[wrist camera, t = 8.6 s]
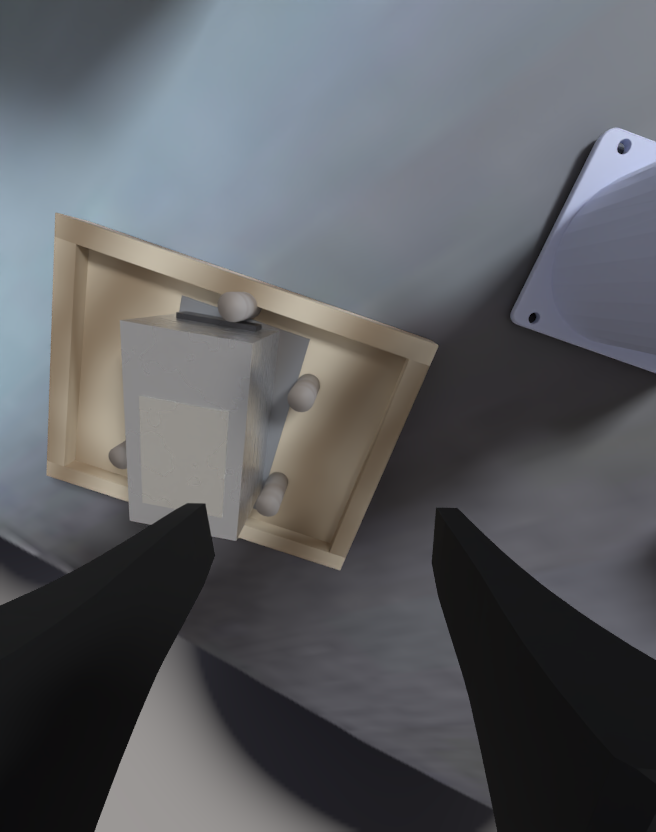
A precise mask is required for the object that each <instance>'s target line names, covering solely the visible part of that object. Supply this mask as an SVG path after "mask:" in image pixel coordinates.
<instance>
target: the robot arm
mask: <svg viewBox="0 0 656 832" xmlns="http://www.w3.org/2000/svg"><path fill="white" fill-rule="evenodd" d="M619 143H622V144H623V145H624V148H625V149H624V152H623V154H619V153H618V151H617V146H618V144H619ZM532 313H535V314H536V320H535V321H534V322H532V323H530V322H529V320H528V318H529V316H530V315H531V314H532ZM510 317H511V320H512V322H513V323H515V324H516V325H519V326H522V327H525V328H528V329H531V330H533V331H536V332H539V333H542V334H545V335H548V336H551V337H553V338H556V339H559V340H562V341H565V342H568V343H571V344H573V345H576V346H579V347H582V348H585V349H588V350H590V351H593V352H596V353H599V354H602V355H605V356H608V357H610V358H613V359H616V360H619V361H622V362H625V363H627V364H630V365H633V366H636V367H639V368H642V369H645V370H647V371H650V372H653V373H656V142H655V141H653V140H650V139H647V138H645V137H642V136H639V135H636V134H634V133H631V132H628V131H626V130H623V129H620V128H612V129H609V130H607V131H606V132H604V133H603V134H602V135H600V136H599V138H598V139H597V140H596V142H595V144H594V146H593V148H592V150H591V152H590V154H589V156H588V158H587V160H586V162H585V164H584V166H583V168H582V170H581V172H580V174H579V176H578V178H577V180H576V182H575V184H574V186H573V188H572V190H571V192H570V194H569V196H568V198H567V200H566V202H565V204H564V206H563V208H562V210H561V212H560V214H559V216H558V218H557V220H556V222H555V224H554V226H553V228H552V230H551V232H550V234H549V236H548V238H547V240H546V242H545V245H544V247H543V249H542V251H541V253H540V255H539V257H538V259H537V261H536V263H535V265H534V267H533V269H532V271H531V273H530V275H529V277H528V279H527V281H526V283H525V285H524V287H523V289H522V291H521V293H520V295H519V297H518V299H517V301H516V303H515V305H514V307H513V309H512V311H511V314H510ZM214 556H215V553H214V548H213V542H212V537H211V531H210V526H209V520H208V515H207V509H206V504H205V503H187V504H185V505H183V506H181V507H179V508H177V509H176V510H174V511H172V512H171V513H169V514H168V515H166V516H164V517H163V518H161V519H160V520H158V521H156V522H155V523H153V524H152V525H150V526H149V527H147V528H145V529H144V530H142V531H141V532H139V533H137V534H136V535H134V536H133V537H131V538H130V539H128V540H126V541H125V542H123V543H121V544H120V545H118V546H116V547H115V548H113V549H111V550H109V551H108V552H106V553H104V554H103V555H101V556H99V557H98V558H96V559H94V560H92V561H91V562H89V563H87V564H85V565H83V566H82V567H80V568H78V569H76V570H74V571H72V572H70V573H69V574H67V575H65V576H63V577H61V578H59V579H57V580H55V581H53V582H51V583H49V584H47V585H45V586H43V587H41V588H38V589H36V590H34V591H32V592H30V593H28V594H25V595H23V596H21V597H18V598H16V599H14V600H12V601H10V602H7V603H5V604H3V605H0V832H94V831H95V828H96V825H97V823H98V820H99V817H100V815H101V812H102V809H103V807H104V804H105V801H106V799H107V796H108V793H109V791H110V788H111V785H112V783H113V780H114V777H115V775H116V772H117V769H118V767H119V764H120V761H121V759H122V757H123V754H124V751H125V749H126V747H127V744H128V742H129V739H130V736H131V734H132V732H133V729H134V726H135V724H136V722H137V719H138V717H139V715H140V712H141V710H142V708H143V705H144V702H145V701H146V698H147V696H148V694H149V691H150V689H151V686H152V684H153V682H154V680H155V677H156V675H157V673H158V671H159V669H160V667H161V665H162V663H163V661H164V659H165V657H166V655H167V653H168V651H169V649H170V648H171V646H172V644H173V642H174V640H175V638H176V637H177V635H178V633H179V631H180V629H181V627H182V625H183V624H184V622H185V620H186V618H187V616H188V614H189V612H190V610H191V609H192V607H193V605H194V603H195V601H196V599H197V597H198V595H199V593H200V591H201V589H202V587H203V585H204V583H205V580H206V578H207V575H208V573H209V570H210V567H211V565H212V562H213V559H214ZM432 566H433V572H434V577H435V583H436V588H437V593H438V597H439V600H440V604H441V607H442V610H443V614H444V617H445V620H446V623H447V627H448V630H449V633H450V636H451V639H452V642H453V646H454V649H455V652H456V655H457V658H458V662H459V665H460V668H461V671H462V674H463V678H464V681H465V685H466V688H467V692H468V696H469V700H470V704H471V709H472V713H473V718H474V722H475V727H476V731H477V736H478V740H479V745H480V749H481V754H482V759H483V764H484V768H485V773H486V778H487V783H488V787H489V792H490V797H491V802H492V807H493V812H494V817H495V822H496V827H497V832H656V660H655V659H653V658H651V657H650V656H648V655H646V654H644V653H643V652H641V651H639V650H638V649H636V648H634V647H633V646H631V645H629V644H628V643H626V642H625V641H623V640H622V639H620V638H618V637H617V636H615V635H614V634H612V633H610V632H609V631H607V630H606V629H604V628H603V627H601V626H599V625H598V624H596V623H595V622H593V621H592V620H590V619H589V618H587V617H586V616H584V615H583V614H582V613H580V612H579V611H577V610H576V609H574V608H573V607H572V606H570V605H569V604H568V603H566V602H565V601H563V600H562V599H561V598H559V597H558V596H556V595H555V594H554V593H552V592H551V591H550V590H548V589H547V588H546V587H544V586H543V585H542V584H541V583H539V582H538V581H537V580H536V579H534V578H533V577H532V576H531V575H529V574H528V573H527V572H526V571H525V570H523V569H522V568H521V567H520V566H519V565H517V564H516V563H515V562H514V561H513V560H512V559H510V558H509V557H508V556H507V555H506V554H505V553H504V552H503V551H501V550H500V549H499V548H498V547H497V546H496V545H495V544H494V543H493V542H492V541H491V540H490V539H489V538H487V537H486V536H485V535H484V534H483V533H482V532H481V531H480V530H479V529H478V528H477V527H476V526H475V525H474V524H473V523H472V522H471V521H470V520H469V519H468V518H467V517H466V516H465V515H464V514H463V513H462V512H461V511H460V510H459V509H458V508H436V517H435V529H434V542H433V554H432Z"/></svg>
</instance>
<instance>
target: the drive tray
mask: <svg viewBox="0 0 656 832" xmlns="http://www.w3.org/2000/svg"><path fill="white" fill-rule="evenodd" d="M183 311H189V312H195V313H201V314H206V315H212V316H218V317H222V318H224V319H225V320H226V321H229V322H238V321H247V322H252V323H258V324H262V328H267V329H273V330H279V340H278V349H277V358H276V367H275V377H274V386H273V395H272V404H271V414H270V423H269V432H268V441H267V451H266V460H265V469H264V478H263V488H262V490H261V492H260V494H259V496H258V498H257V500H256V502H255V504H254V506H253V508H252V510H251V512H250V514H249V516H248V519H247V521H246V523H245V525H244V527H243V529H242V531H241V533H240V535H239V537H238V538H241V539H245V540H248V541H251V542H254V543H257V544H260V545H263V546H266V547H269V548H272V549H275V550H278V551H282V552H285V553H288V554H291V555H294V556H297V557H300V558H303V559H306V560H309V561H312V562H315V563H318V564H322V565H325V566H328V567H331V568H334V569H337V570H340V569H341V567H342V565H343V563H344V560H345V558H346V556H347V553H348V551H349V549H350V547H351V544H352V542H353V540H354V538H355V535H356V533H357V531H358V528H359V526H360V524H361V522H362V519H363V517H364V515H365V513H366V510H367V508H368V506H369V503H370V501H371V499H372V497H373V494H374V492H375V490H376V488H377V485H378V483H379V481H380V478H381V476H382V474H383V472H384V469H385V467H386V465H387V462H388V460H389V458H390V456H391V453H392V451H393V449H394V447H395V444H396V442H397V440H398V437H399V435H400V433H401V431H402V428H403V426H404V424H405V422H406V419H407V417H408V415H409V412H410V410H411V408H412V406H413V403H414V401H415V399H416V396H417V394H418V392H419V390H420V387H421V385H422V383H423V381H424V378H425V376H426V374H427V371H428V369H429V367H430V365H431V362H432V360H433V358H434V356H435V353H436V351H437V349H438V346H439V345H437V344H436V343H434V342H433V341H431V340H429V339H427V338H424V337H421V336H418V335H415V334H412V333H409V332H406V331H403V330H401V329H398V328H395V327H392V326H389V325H386V324H383V323H380V322H378V321H375V320H372V319H369V318H366V317H363V316H360V315H357V314H355V313H352V312H349V311H346V310H343V309H340V308H337V307H334V306H331V305H329V304H326V303H323V302H320V301H317V300H314V299H311V298H308V297H306V296H303V295H300V294H297V293H294V292H291V291H288V290H285V289H283V288H280V287H277V286H274V285H271V284H268V283H265V282H262V281H259V280H257V279H254V278H251V277H248V276H245V275H242V274H239V273H236V272H234V271H231V270H228V269H225V268H222V267H219V266H216V265H213V264H211V263H208V262H205V261H202V260H199V259H196V258H193V257H190V256H187V255H185V254H182V253H179V252H176V251H173V250H170V249H167V248H164V247H162V246H159V245H156V244H153V243H150V242H147V241H144V240H141V239H139V238H136V237H133V236H130V235H127V234H124V233H121V232H118V231H115V230H113V229H110V228H107V227H104V226H101V225H98V224H95V223H92V222H90V221H86V220H82V219H78V218H75V217H71V216H67V215H63V214H59V213H55V240H54V270H53V300H52V329H51V359H50V389H49V419H48V449H47V476H50V477H53V478H56V479H60V480H63V481H66V482H69V483H72V484H75V485H78V486H81V487H84V488H87V489H90V490H93V491H97V492H100V493H103V494H106V495H109V496H112V497H115V498H118V499H121V500H124V501H127V502H129V497H128V477H127V456H126V436H125V416H124V396H123V376H122V356H121V335H120V320H125V319H134V318H142V317H151V316H160V315H168V314H176V312H183Z"/></svg>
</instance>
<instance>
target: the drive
mask: <svg viewBox="0 0 656 832" xmlns="http://www.w3.org/2000/svg"><path fill="white" fill-rule="evenodd" d="M120 335H121V356H122V376H123V396H124V416H125V436H126V456H127V477H128V497H129V517H130V521H134V522H139V523H144V524H149V525H152V524H153V523H155V522H156V521H158V520H160V519H161V518H163V517H164V516H166V515H168V514H169V513H171V512H172V511H174V510H176V509H177V508H179V507H181V506H183V505H185V504H187V503H205V504H206V509H207V515H208V520H209V526H210V531H211V536H212V537H217V538H223V539H228V540H233V541H237V539H238V537H239V535H240V533H241V531H242V529H243V527H244V525H245V523H246V521H247V519H248V516H249V514H250V512H251V510H252V508H253V506H254V504H255V502H256V500H257V498H258V496H259V494H260V492H261V490H262V488H263V478H264V469H265V460H266V451H267V441H268V432H269V423H270V414H271V404H272V395H273V386H274V377H275V367H276V358H277V349H278V340H279V330H273V329H267V328H262V324H258V323H252V322H247V321H238V322H229V321H226V320H225V319H224V318H222V317H218V316H212V315H206V314H201V313H195V312H189V311H183V312H176V314H168V315H160V316H151V317H142V318H134V319H125V320H120Z"/></svg>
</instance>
